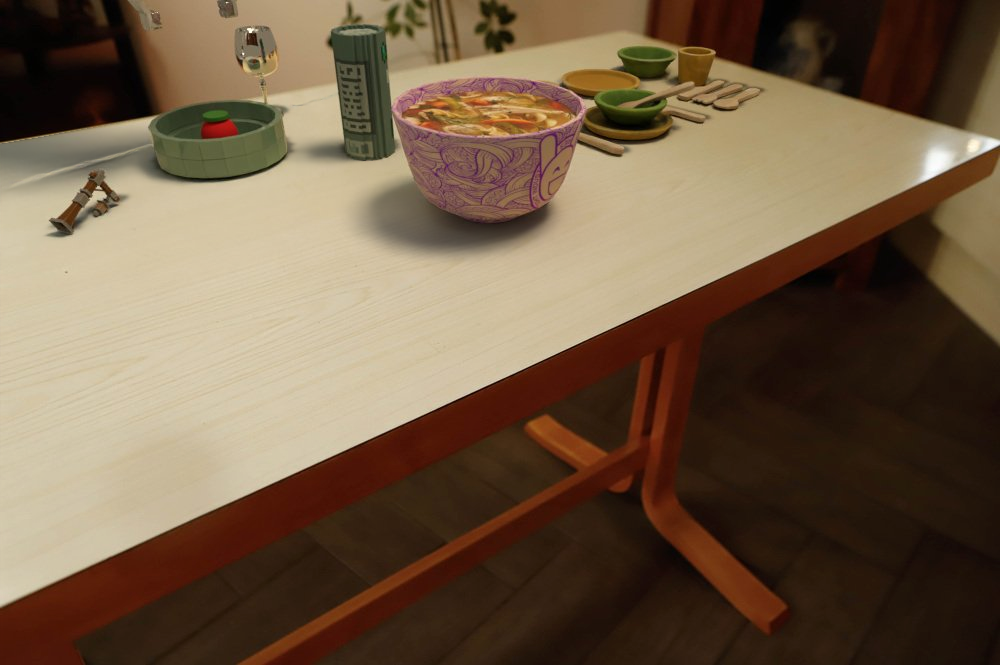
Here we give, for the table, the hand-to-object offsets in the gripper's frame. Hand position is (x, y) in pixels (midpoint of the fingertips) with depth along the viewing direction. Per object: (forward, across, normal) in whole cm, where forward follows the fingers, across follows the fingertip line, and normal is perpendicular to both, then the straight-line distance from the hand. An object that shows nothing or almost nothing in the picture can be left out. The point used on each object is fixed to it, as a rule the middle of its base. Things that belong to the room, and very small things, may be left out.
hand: (192, 22), depth 83 cm
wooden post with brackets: (+17, +19, +5) cm, 26 cm away
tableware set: (+16, -54, +25) cm, 62 cm away
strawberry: (+16, 0, 0) cm, 16 cm away
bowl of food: (+16, -12, +35) cm, 41 cm away
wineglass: (+16, -14, -10) cm, 23 cm away
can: (+16, -14, +12) cm, 25 cm away
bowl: (+16, 0, 0) cm, 16 cm away
